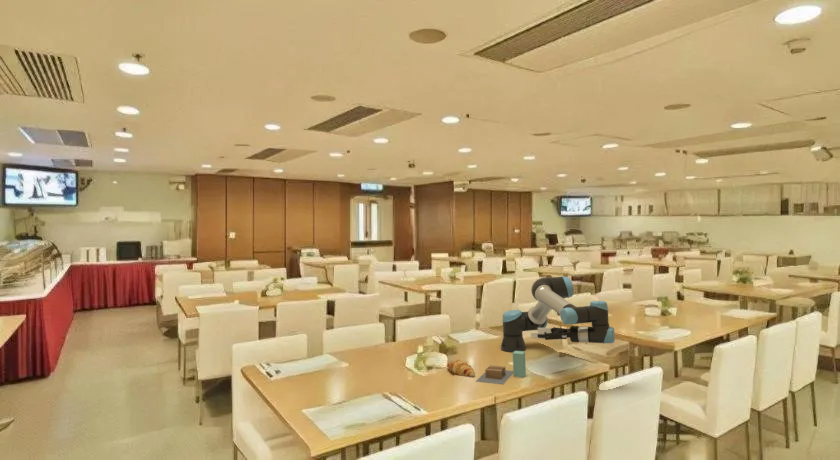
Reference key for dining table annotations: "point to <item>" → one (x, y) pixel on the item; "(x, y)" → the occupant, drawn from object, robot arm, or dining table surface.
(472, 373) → the croissant
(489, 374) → the plinth
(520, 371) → the pillar
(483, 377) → the placemat
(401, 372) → the dining table surface
